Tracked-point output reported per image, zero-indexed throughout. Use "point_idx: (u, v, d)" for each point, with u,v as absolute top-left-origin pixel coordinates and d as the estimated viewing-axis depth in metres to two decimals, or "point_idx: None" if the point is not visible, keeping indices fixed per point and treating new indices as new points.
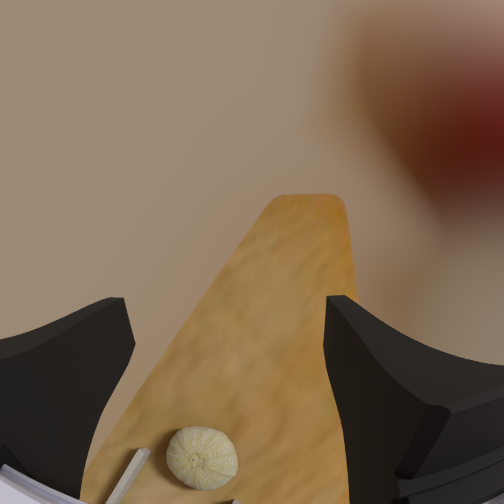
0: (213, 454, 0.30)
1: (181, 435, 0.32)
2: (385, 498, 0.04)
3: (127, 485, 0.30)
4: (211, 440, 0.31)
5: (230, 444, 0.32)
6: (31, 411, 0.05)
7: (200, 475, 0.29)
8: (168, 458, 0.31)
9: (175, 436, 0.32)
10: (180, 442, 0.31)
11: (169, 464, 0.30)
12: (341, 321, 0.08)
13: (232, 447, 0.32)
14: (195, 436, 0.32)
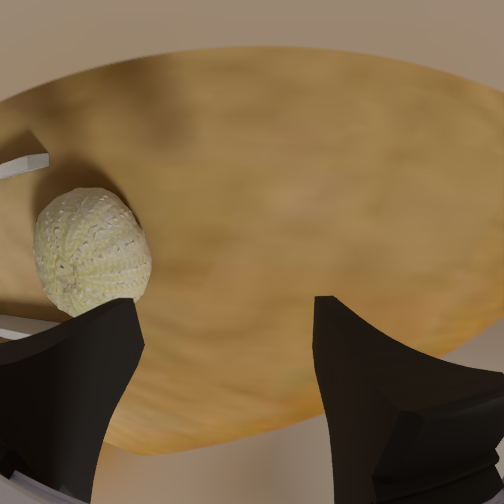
0: (94, 293, 0.16)
1: (84, 212, 0.15)
2: (363, 502, 0.04)
3: None
4: (115, 270, 0.16)
5: (139, 292, 0.18)
6: (42, 415, 0.05)
7: (53, 292, 0.16)
8: (42, 216, 0.16)
9: (79, 198, 0.16)
10: (70, 221, 0.15)
11: (36, 226, 0.16)
12: (327, 321, 0.08)
13: (137, 297, 0.19)
14: (100, 239, 0.16)
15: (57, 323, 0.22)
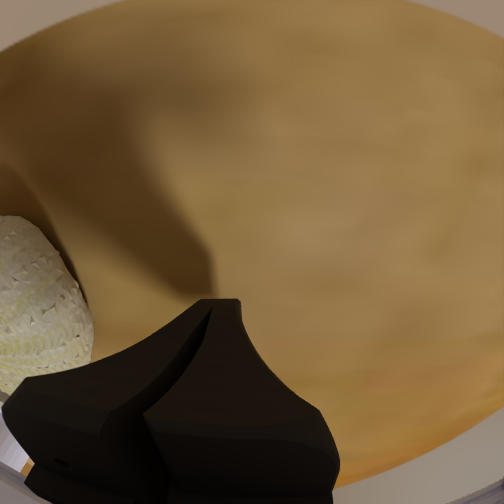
0: (13, 377, 0.08)
1: None
2: None
3: None
4: (31, 351, 0.08)
5: None
6: None
7: None
8: None
9: None
10: None
11: None
12: None
13: None
14: (4, 304, 0.08)
15: None
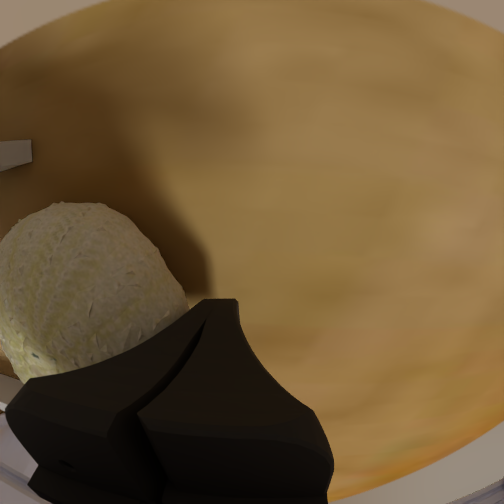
0: None
1: (66, 259, 0.07)
2: None
3: None
4: None
5: None
6: None
7: None
8: None
9: (56, 227, 0.08)
10: (41, 276, 0.07)
11: None
12: None
13: None
14: (102, 316, 0.07)
15: None
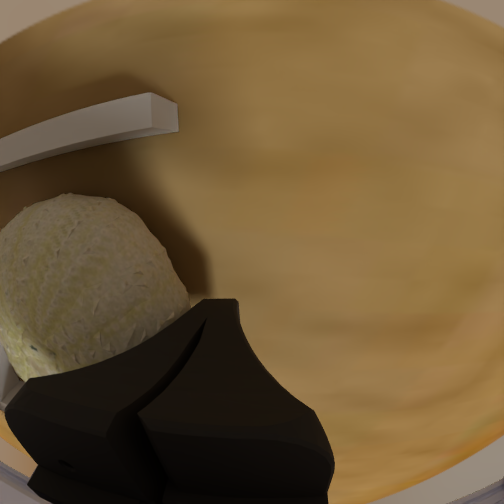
0: None
1: (74, 254, 0.07)
2: None
3: (14, 164, 0.09)
4: None
5: None
6: None
7: (24, 377, 0.08)
8: None
9: (65, 220, 0.08)
10: (46, 269, 0.07)
11: None
12: None
13: None
14: (108, 314, 0.07)
15: None
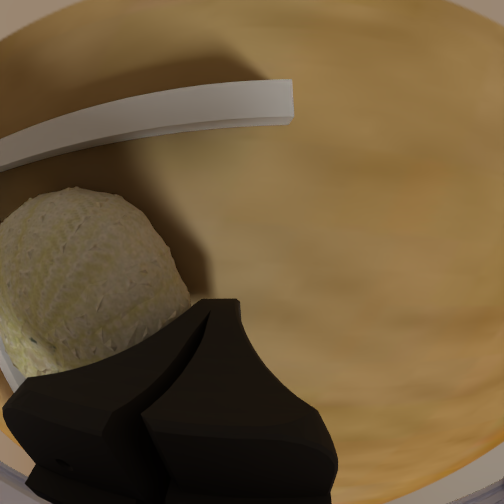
0: None
1: (80, 250, 0.07)
2: None
3: (84, 145, 0.09)
4: None
5: None
6: None
7: (21, 368, 0.08)
8: (2, 233, 0.08)
9: (71, 214, 0.08)
10: (51, 263, 0.07)
11: None
12: None
13: None
14: (111, 311, 0.08)
15: None
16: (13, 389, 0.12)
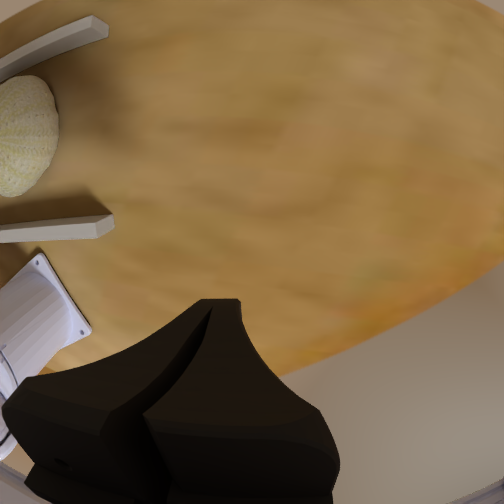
0: (1, 153, 0.14)
1: (14, 87, 0.13)
2: None
3: (28, 59, 0.15)
4: (20, 134, 0.14)
5: (38, 164, 0.16)
6: None
7: None
8: None
9: (16, 79, 0.14)
10: (3, 93, 0.13)
11: None
12: None
13: (36, 170, 0.17)
14: (18, 107, 0.14)
15: (80, 217, 0.20)
16: None
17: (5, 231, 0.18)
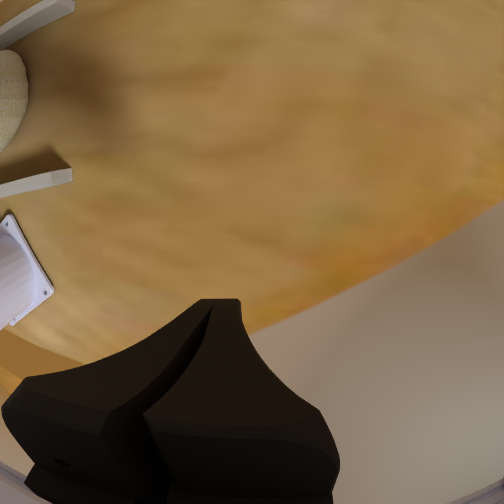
0: None
1: None
2: None
3: (6, 38, 0.14)
4: None
5: (7, 125, 0.15)
6: None
7: None
8: None
9: None
10: None
11: None
12: None
13: (5, 131, 0.16)
14: None
15: None
16: None
17: None
